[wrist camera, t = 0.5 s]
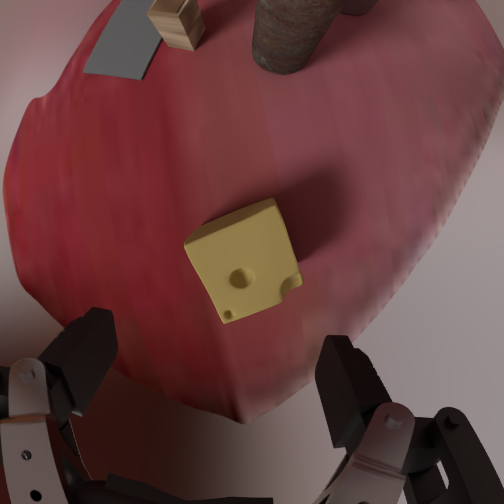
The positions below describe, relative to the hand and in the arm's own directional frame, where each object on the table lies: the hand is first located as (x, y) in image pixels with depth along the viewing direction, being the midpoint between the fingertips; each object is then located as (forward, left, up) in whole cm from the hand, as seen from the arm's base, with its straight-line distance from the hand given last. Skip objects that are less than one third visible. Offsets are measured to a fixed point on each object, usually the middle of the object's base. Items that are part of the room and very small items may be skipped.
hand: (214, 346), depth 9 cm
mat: (-23, -25, -27) cm, 43 cm away
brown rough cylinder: (-23, -3, -27) cm, 36 cm away
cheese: (+3, +2, -28) cm, 28 cm away
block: (-22, -16, -27) cm, 38 cm away
